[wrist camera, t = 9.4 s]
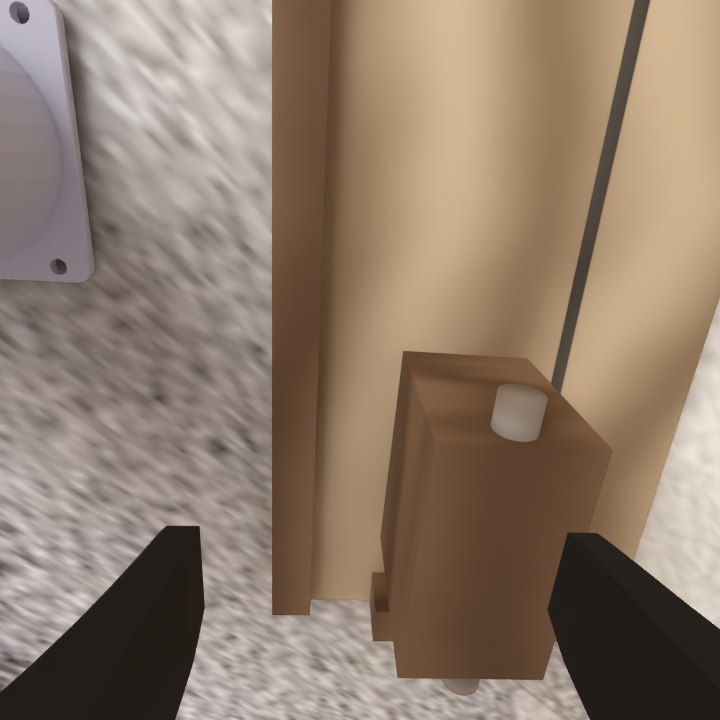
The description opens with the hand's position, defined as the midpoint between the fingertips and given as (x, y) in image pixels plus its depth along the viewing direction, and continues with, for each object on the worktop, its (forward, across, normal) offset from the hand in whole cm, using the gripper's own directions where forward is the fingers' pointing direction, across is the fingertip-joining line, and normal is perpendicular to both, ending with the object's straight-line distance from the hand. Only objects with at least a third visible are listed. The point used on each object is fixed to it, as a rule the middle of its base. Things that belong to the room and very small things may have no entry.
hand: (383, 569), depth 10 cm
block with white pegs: (+9, -4, +3) cm, 10 cm away
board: (+10, -4, -4) cm, 11 cm away
